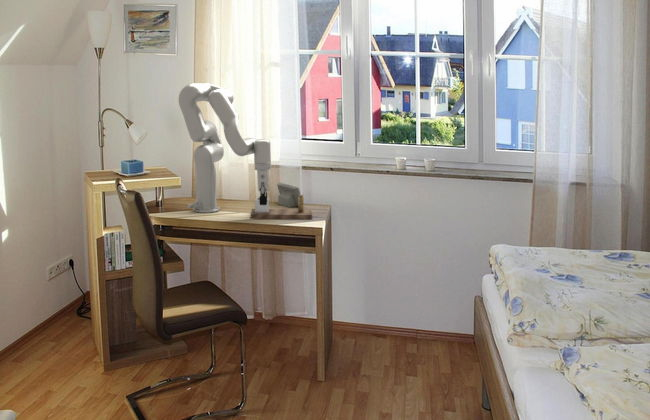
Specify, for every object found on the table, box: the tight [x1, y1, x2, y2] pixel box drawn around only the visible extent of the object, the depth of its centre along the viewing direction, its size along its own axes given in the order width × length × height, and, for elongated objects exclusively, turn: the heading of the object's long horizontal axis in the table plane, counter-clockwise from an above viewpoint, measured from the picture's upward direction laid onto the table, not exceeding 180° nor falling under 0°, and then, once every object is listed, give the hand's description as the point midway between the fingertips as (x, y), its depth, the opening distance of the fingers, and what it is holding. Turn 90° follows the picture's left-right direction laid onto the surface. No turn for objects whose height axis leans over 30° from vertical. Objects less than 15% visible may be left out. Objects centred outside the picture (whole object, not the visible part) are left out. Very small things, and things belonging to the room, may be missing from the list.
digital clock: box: [276, 181, 302, 208], centre depth 372 cm, size 16×9×11 cm, turn 30°
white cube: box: [254, 197, 270, 213], centre depth 347 cm, size 6×6×6 cm
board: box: [250, 194, 313, 220], centre depth 348 cm, size 28×12×10 cm, turn 93°
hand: (263, 202), depth 347 cm, fingers open, 9 cm apart
